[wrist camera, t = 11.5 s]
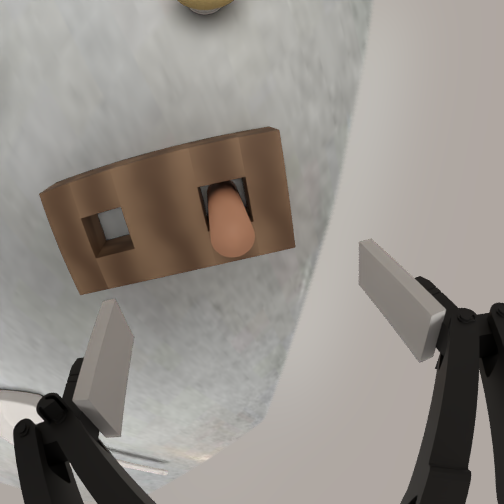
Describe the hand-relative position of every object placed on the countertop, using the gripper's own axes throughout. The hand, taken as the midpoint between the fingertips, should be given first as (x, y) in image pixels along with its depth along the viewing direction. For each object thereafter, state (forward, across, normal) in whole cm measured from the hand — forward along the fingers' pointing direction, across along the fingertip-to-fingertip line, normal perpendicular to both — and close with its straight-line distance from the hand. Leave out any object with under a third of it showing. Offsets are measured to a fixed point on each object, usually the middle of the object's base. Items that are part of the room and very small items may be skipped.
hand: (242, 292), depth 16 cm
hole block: (+20, -5, 0) cm, 20 cm away
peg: (+20, 0, 0) cm, 20 cm away
